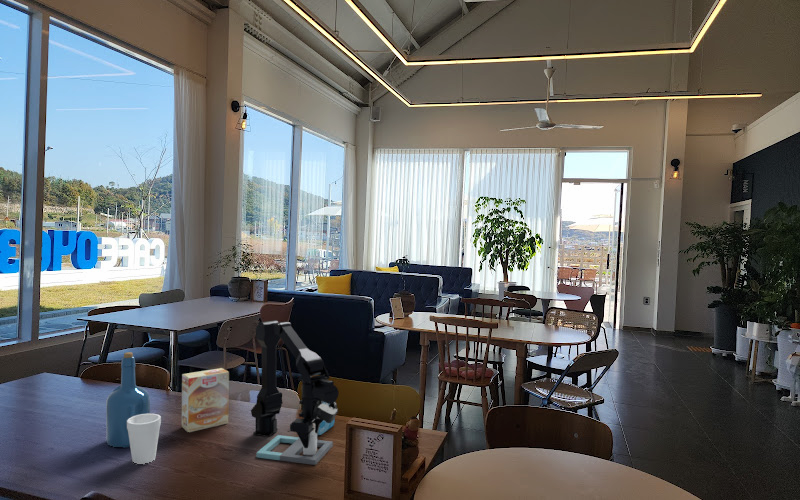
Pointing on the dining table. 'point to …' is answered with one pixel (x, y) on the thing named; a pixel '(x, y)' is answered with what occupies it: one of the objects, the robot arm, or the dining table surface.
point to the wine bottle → (125, 404)
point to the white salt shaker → (311, 443)
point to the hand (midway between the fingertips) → (310, 444)
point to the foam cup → (143, 437)
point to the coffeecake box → (205, 399)
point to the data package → (325, 425)
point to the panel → (293, 450)
